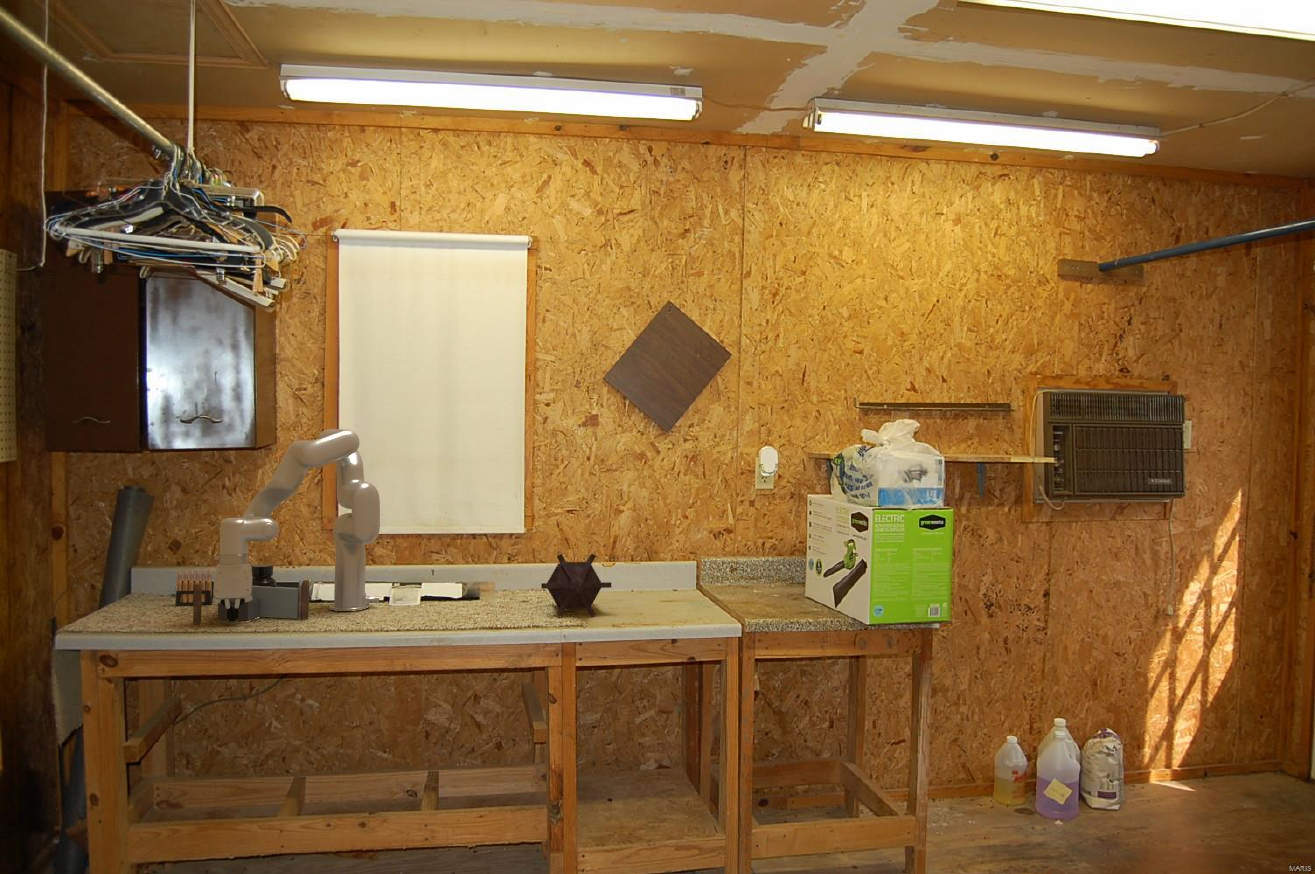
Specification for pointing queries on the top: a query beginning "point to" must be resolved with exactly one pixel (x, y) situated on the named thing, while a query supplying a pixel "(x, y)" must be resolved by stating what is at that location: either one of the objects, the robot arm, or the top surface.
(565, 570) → the black spiked polyhedron
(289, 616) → the door
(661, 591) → the top surface
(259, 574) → the ink bottle
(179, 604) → the ammunition clip
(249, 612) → the doorstop block
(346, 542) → the robot arm
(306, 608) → the door frame
